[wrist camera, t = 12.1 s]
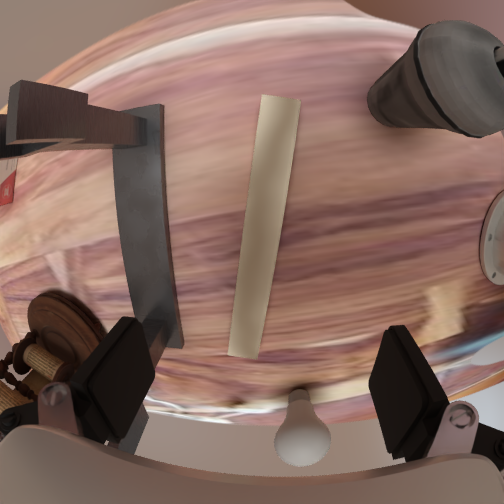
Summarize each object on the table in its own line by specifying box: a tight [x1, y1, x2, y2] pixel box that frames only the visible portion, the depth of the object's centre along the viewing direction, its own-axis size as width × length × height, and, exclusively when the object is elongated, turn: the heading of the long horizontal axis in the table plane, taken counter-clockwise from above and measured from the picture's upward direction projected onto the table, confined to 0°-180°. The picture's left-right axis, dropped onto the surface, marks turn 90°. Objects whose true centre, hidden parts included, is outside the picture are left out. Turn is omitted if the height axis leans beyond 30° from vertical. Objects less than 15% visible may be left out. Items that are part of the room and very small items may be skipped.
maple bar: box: [228, 94, 301, 359], centre depth 24 cm, size 3×24×3 cm, turn 172°
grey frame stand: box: [0, 80, 184, 454], centre depth 17 cm, size 5×25×17 cm, turn 0°
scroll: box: [0, 293, 103, 414], centre depth 21 cm, size 15×15×20 cm
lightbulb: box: [274, 389, 331, 466], centre depth 26 cm, size 6×6×11 cm
